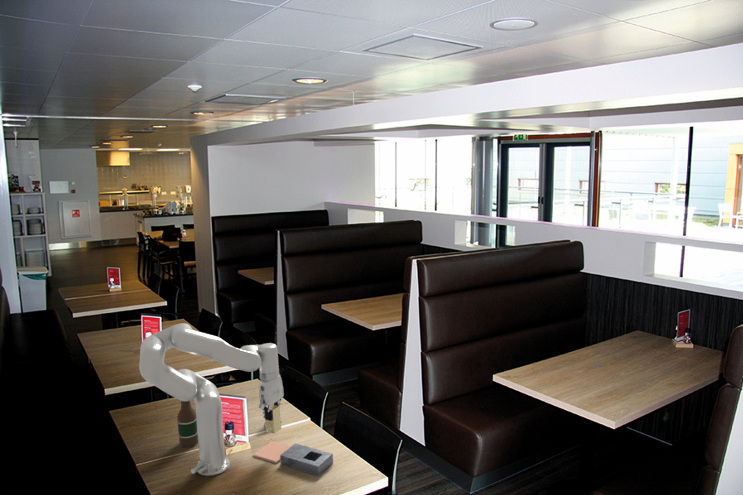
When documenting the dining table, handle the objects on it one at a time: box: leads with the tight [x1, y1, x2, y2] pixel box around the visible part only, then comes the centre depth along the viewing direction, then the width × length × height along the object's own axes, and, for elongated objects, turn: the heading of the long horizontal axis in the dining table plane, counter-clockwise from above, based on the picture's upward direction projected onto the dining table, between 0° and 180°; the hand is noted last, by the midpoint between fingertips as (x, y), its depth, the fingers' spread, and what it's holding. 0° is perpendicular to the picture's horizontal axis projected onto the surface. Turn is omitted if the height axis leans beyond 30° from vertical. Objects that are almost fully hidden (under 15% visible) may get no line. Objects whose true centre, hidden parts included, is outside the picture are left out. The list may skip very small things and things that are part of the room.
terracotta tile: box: [252, 440, 293, 464], centre depth 220 cm, size 12×12×1 cm
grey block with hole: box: [280, 443, 334, 477], centre depth 211 cm, size 10×18×4 cm, turn 61°
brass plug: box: [263, 404, 282, 435], centre depth 218 cm, size 4×4×10 cm
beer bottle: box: [177, 400, 199, 448], centre depth 228 cm, size 8×8×24 cm
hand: (272, 416), depth 218 cm, fingers closed on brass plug, 4 cm apart
